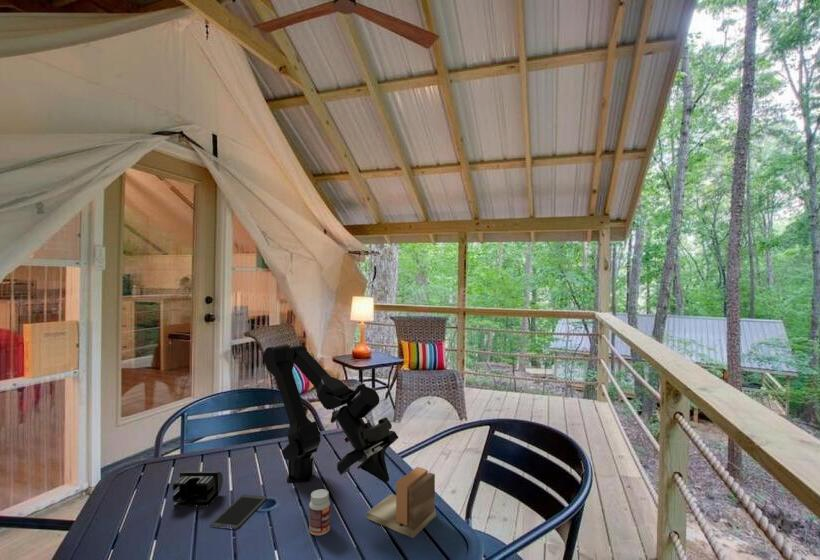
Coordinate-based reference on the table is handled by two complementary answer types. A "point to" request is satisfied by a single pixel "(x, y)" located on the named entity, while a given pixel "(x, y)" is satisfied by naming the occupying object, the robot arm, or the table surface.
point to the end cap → (197, 488)
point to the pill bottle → (319, 512)
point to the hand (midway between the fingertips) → (387, 481)
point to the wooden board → (406, 493)
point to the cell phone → (239, 511)
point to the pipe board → (418, 508)
